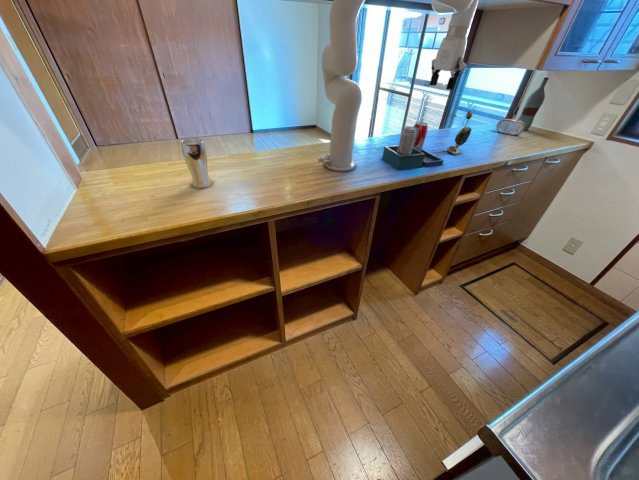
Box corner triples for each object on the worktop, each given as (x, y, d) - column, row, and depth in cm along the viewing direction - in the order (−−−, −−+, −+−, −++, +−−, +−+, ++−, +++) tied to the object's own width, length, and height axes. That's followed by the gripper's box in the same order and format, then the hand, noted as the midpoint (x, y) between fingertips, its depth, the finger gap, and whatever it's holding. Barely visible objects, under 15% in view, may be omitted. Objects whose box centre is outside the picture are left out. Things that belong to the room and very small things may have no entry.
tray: (424, 166, 116) (426, 162, 115) (405, 155, 126) (406, 151, 125) (442, 164, 119) (443, 160, 118) (422, 153, 130) (423, 149, 128)
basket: (397, 170, 112) (401, 156, 108) (381, 158, 121) (384, 146, 118) (421, 167, 116) (425, 154, 112) (404, 156, 125) (407, 144, 122)
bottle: (515, 126, 184) (539, 76, 165) (529, 129, 179) (556, 78, 161) (511, 128, 178) (536, 77, 160) (526, 131, 174) (554, 79, 155)
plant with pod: (468, 153, 134) (486, 110, 121) (452, 155, 130) (468, 111, 117) (456, 147, 139) (471, 106, 127) (440, 149, 135) (454, 107, 123)
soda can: (422, 151, 132) (430, 126, 125) (408, 149, 133) (414, 124, 126) (421, 146, 138) (428, 122, 130) (407, 145, 138) (413, 121, 131)
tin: (520, 135, 165) (527, 121, 160) (520, 137, 163) (527, 122, 158) (494, 131, 171) (500, 117, 166) (493, 132, 169) (500, 118, 163)
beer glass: (188, 183, 93) (176, 140, 83) (207, 178, 97) (197, 136, 87) (197, 190, 89) (185, 146, 80) (216, 184, 93) (207, 141, 83)
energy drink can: (409, 165, 116) (419, 130, 107) (396, 165, 116) (404, 129, 107) (406, 160, 121) (415, 126, 112) (393, 159, 121) (401, 125, 111)
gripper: (432, 32, 101) (419, 83, 112) (467, 33, 89) (449, 91, 99) (447, 33, 104) (433, 83, 114) (483, 35, 91) (464, 91, 102)
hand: (440, 87), depth 107 cm, fingers open, 9 cm apart
